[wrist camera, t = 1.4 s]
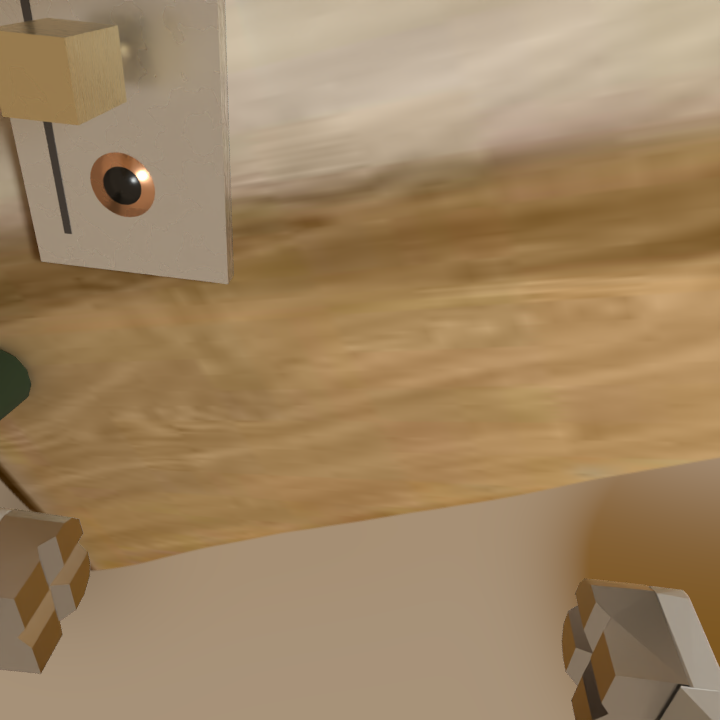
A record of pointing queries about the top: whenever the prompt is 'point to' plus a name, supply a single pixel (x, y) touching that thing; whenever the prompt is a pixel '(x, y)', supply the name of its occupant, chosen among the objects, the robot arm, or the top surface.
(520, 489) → the top surface
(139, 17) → the bolt plate
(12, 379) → the character mug
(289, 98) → the top surface
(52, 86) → the wooden block peg
